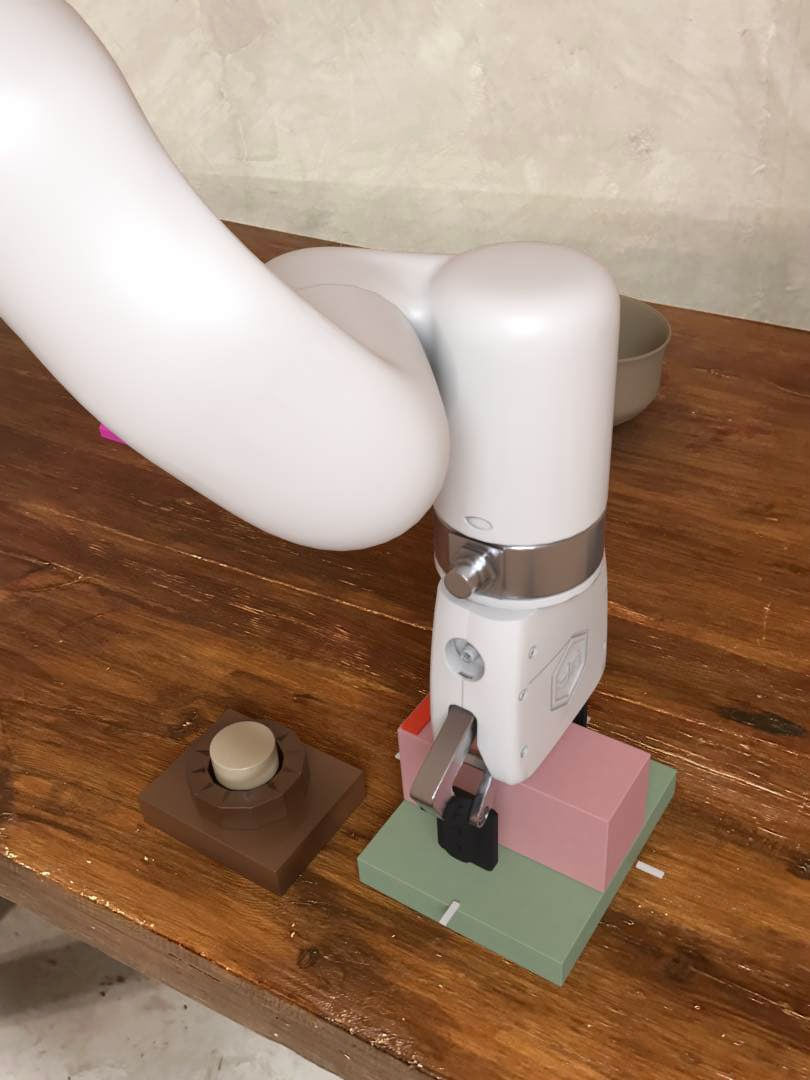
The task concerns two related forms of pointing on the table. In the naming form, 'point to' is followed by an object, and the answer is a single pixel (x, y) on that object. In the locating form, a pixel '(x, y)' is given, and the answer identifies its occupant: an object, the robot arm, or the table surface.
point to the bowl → (638, 357)
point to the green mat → (502, 887)
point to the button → (244, 755)
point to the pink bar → (556, 799)
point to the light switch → (255, 807)
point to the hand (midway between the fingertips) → (515, 791)
